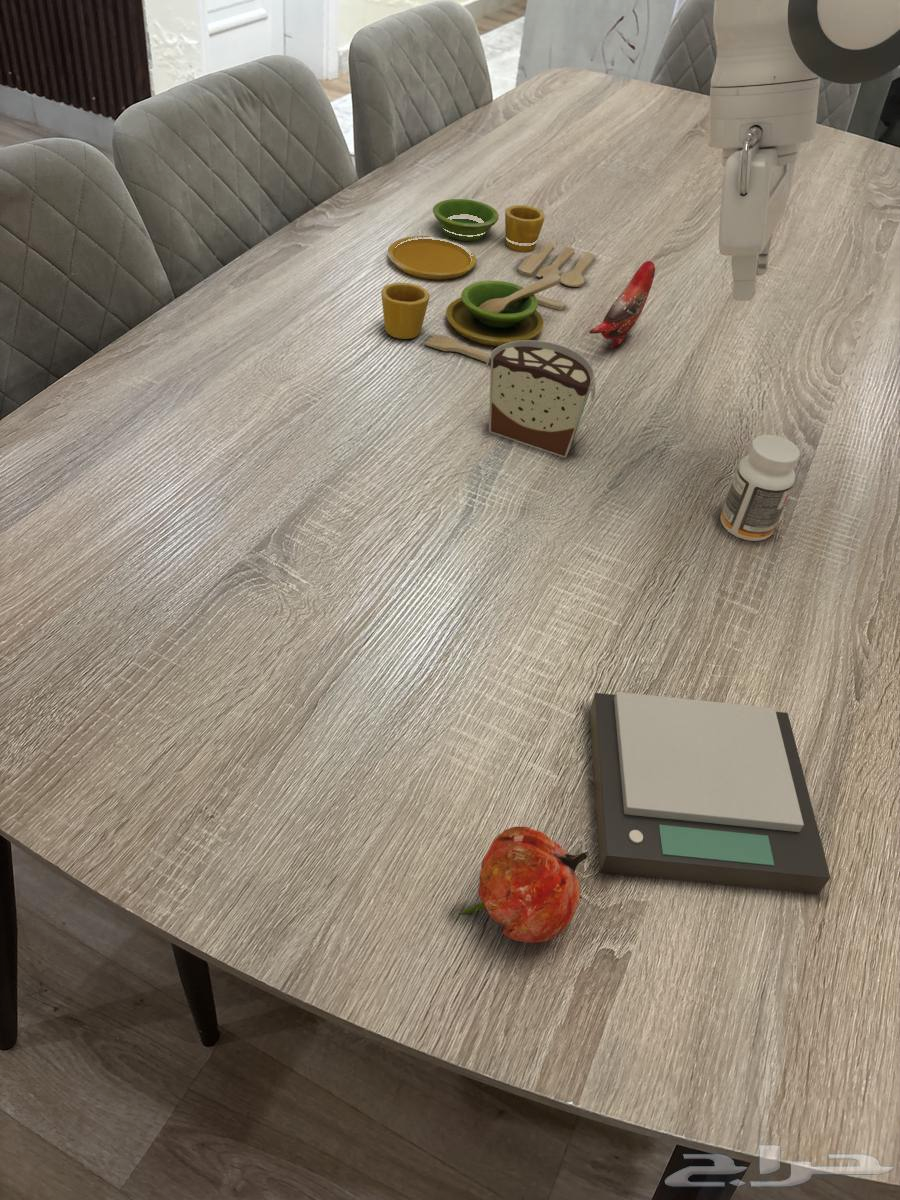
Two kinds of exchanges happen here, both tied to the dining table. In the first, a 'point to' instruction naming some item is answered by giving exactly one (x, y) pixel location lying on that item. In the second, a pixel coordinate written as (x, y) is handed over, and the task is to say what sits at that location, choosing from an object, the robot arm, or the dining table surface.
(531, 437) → the cake slice cutout
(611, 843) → the kitchen scale
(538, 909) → the pomegranate
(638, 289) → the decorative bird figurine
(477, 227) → the tableware set
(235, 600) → the dining table surface
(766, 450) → the pill bottle
